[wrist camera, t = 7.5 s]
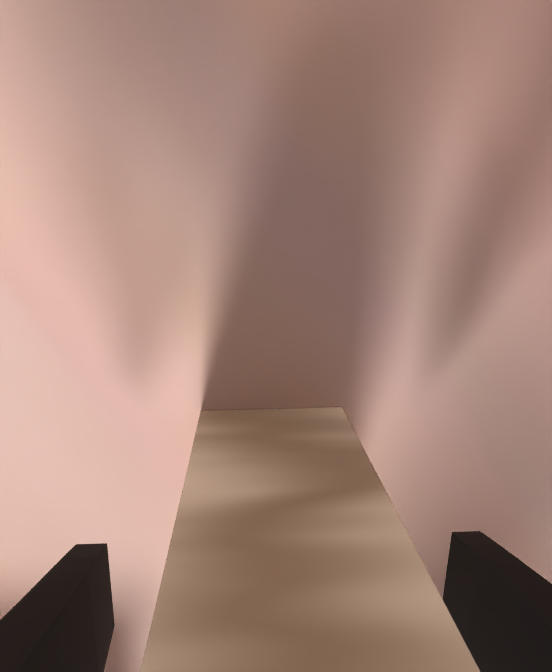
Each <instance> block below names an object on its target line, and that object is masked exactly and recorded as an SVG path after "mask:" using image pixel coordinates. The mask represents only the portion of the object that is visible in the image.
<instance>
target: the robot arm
mask: <svg viewBox="0 0 552 672" xmlns="http://www.w3.org/2000/svg"><path fill="white" fill-rule="evenodd" d="M443 601H444V603H445V605H446V607H447V609H448V611H449V613H450V615H451V617H452V619H453V621H454V622H455V624H456V626H457V628H458V630H459V632H460V634H461V636H462V638H463V640H464V642H465V644H466V645H467V647H468V649H469V651H470V653H471V655H472V657H473V659H474V661H475V663H476V665H477V666H478V668H479V670H480V672H552V584H551V583H550V582H548V581H547V580H546V579H544V578H543V577H542V576H540V575H539V574H538V573H536V572H535V571H534V570H532V569H531V568H530V567H528V566H527V565H526V564H524V563H523V562H522V561H520V560H519V559H518V558H516V557H515V556H514V555H512V554H511V553H509V552H508V551H507V550H505V549H504V548H503V547H501V546H500V545H499V544H497V543H496V542H494V541H493V540H492V539H490V538H489V537H487V536H486V535H484V534H483V533H481V532H480V531H474V532H452V536H451V544H450V551H449V558H448V565H447V572H446V579H445V587H444V594H443ZM113 629H114V615H113V604H112V593H111V582H110V572H109V561H108V550H107V543H106V544H76V545H75V546H74V547H73V548H72V549H71V550H70V551H69V552H68V553H67V554H66V555H65V556H64V557H63V558H62V559H61V560H60V561H59V562H58V563H57V564H56V565H55V566H54V567H53V568H52V569H51V570H50V571H49V572H48V573H47V574H46V575H45V576H44V577H43V578H42V579H41V580H40V581H39V582H38V583H37V584H36V585H35V586H34V587H33V588H32V589H31V590H30V591H29V592H28V593H27V594H26V595H25V596H24V597H23V598H22V599H21V600H20V601H19V602H18V603H17V604H16V605H15V606H14V607H13V608H12V609H11V610H10V611H9V612H8V613H7V614H6V615H5V616H4V617H3V618H2V619H1V620H0V672H103V671H104V667H105V663H106V659H107V655H108V651H109V646H110V642H111V638H112V634H113Z"/></svg>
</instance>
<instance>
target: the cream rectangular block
mask: <svg viewBox="0 0 552 672" xmlns="http://www.w3.org/2000/svg"><path fill="white" fill-rule="evenodd" d="M140 672H480V670H479V668H478V666H477V665H476V663H475V661H474V659H473V657H472V655H471V653H470V651H469V649H468V647H467V645H466V644H465V642H464V640H463V638H462V636H461V634H460V632H459V630H458V628H457V626H456V624H455V622H454V621H453V619H452V617H451V615H450V613H449V611H448V609H447V607H446V605H445V603H444V601H443V600H442V598H441V596H440V594H439V592H438V590H437V588H436V586H435V584H434V582H433V580H432V578H431V577H430V575H429V573H428V571H427V569H426V567H425V565H424V563H423V561H422V559H421V557H420V556H419V554H418V552H417V550H416V548H415V546H414V544H413V542H412V540H411V538H410V536H409V534H408V533H407V531H406V529H405V527H404V525H403V523H402V521H401V519H400V517H399V515H398V513H397V512H396V510H395V508H394V506H393V504H392V502H391V500H390V498H389V496H388V494H387V492H386V490H385V489H384V487H383V485H382V483H381V481H380V479H379V477H378V475H377V473H376V471H375V469H374V468H373V466H372V464H371V462H370V460H369V458H368V456H367V454H366V452H365V450H364V448H363V446H362V445H361V443H360V441H359V439H358V437H357V435H356V433H355V431H354V429H353V427H352V425H351V424H350V422H349V420H348V418H347V416H346V414H345V412H344V410H343V408H342V407H327V408H287V409H247V410H207V411H201V413H200V417H199V421H198V426H197V430H196V434H195V438H194V443H193V447H192V451H191V456H190V460H189V464H188V469H187V473H186V477H185V482H184V486H183V490H182V495H181V499H180V503H179V507H178V512H177V516H176V520H175V525H174V529H173V533H172V538H171V542H170V546H169V551H168V555H167V559H166V564H165V568H164V572H163V576H162V581H161V585H160V589H159V594H158V598H157V602H156V607H155V611H154V615H153V620H152V624H151V628H150V632H149V637H148V641H147V645H146V650H145V654H144V658H143V663H142V667H141V671H140Z"/></svg>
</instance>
